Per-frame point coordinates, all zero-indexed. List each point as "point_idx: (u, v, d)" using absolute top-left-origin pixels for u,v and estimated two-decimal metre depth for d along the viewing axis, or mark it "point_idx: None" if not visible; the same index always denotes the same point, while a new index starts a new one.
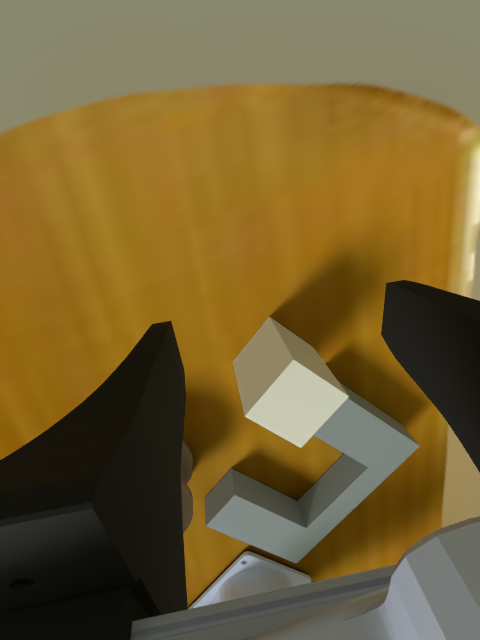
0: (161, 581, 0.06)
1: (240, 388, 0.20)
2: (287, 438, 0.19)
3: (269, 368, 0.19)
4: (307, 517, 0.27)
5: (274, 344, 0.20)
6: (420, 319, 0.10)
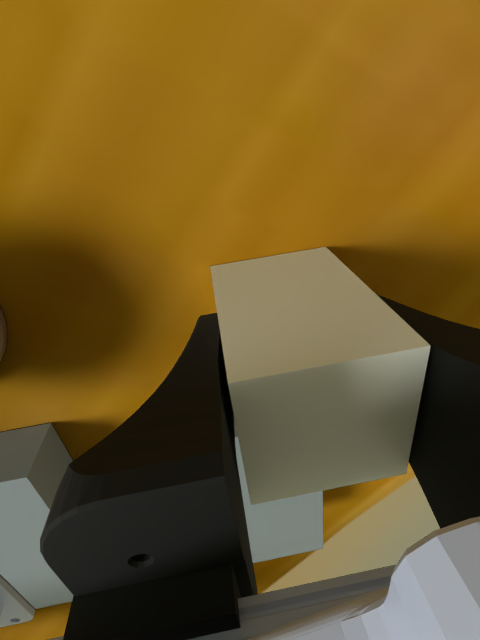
0: (248, 563, 0.06)
1: (222, 316, 0.09)
2: (250, 476, 0.08)
3: (330, 323, 0.08)
4: None
5: (347, 290, 0.09)
6: None
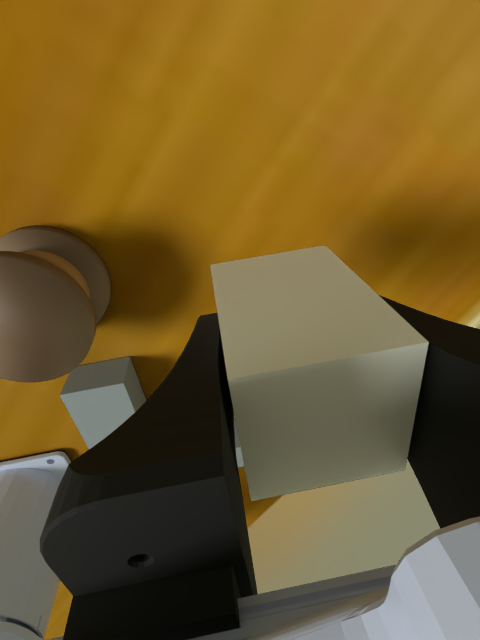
0: (248, 563, 0.06)
1: (222, 314, 0.09)
2: (249, 473, 0.08)
3: (329, 320, 0.08)
4: None
5: (345, 288, 0.09)
6: None
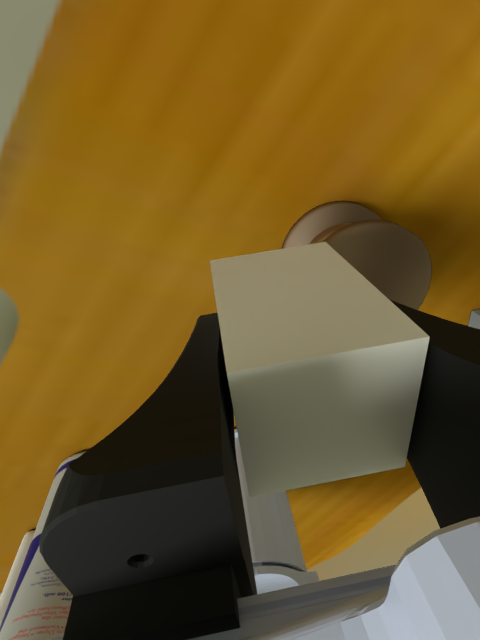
0: (248, 563, 0.06)
1: (222, 309, 0.09)
2: (249, 468, 0.08)
3: (329, 315, 0.08)
4: None
5: (346, 283, 0.09)
6: None
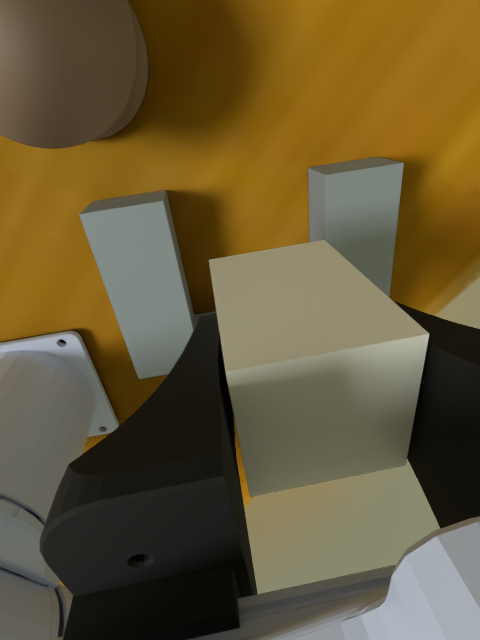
0: (248, 563, 0.06)
1: (220, 307, 0.09)
2: (248, 468, 0.08)
3: (328, 313, 0.08)
4: None
5: (345, 281, 0.09)
6: None
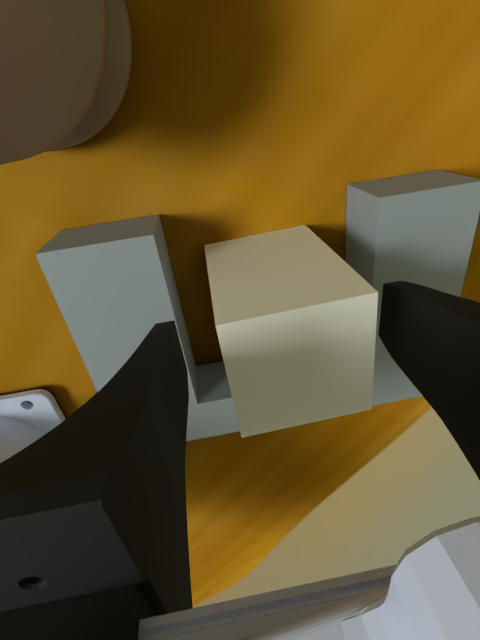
0: (167, 580, 0.06)
1: (213, 281, 0.10)
2: (238, 410, 0.10)
3: (300, 281, 0.10)
4: (207, 391, 0.15)
5: (318, 257, 0.11)
6: (417, 320, 0.10)
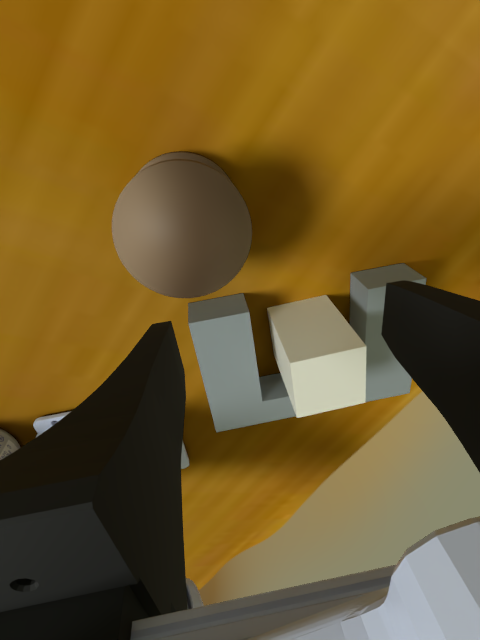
0: (161, 581, 0.06)
1: (280, 336, 0.20)
2: (297, 403, 0.19)
3: (328, 338, 0.19)
4: (267, 393, 0.24)
5: (335, 321, 0.20)
6: (421, 319, 0.10)
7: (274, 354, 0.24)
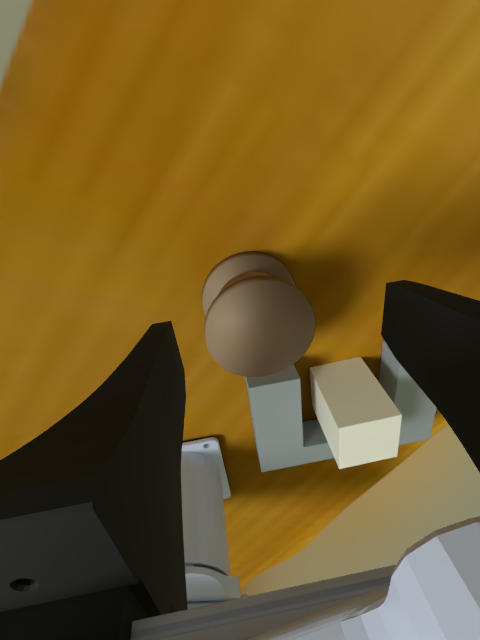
0: (161, 581, 0.06)
1: (326, 399, 0.23)
2: (340, 458, 0.23)
3: (368, 404, 0.22)
4: (306, 440, 0.28)
5: (372, 387, 0.24)
6: (421, 319, 0.10)
7: (312, 404, 0.28)
